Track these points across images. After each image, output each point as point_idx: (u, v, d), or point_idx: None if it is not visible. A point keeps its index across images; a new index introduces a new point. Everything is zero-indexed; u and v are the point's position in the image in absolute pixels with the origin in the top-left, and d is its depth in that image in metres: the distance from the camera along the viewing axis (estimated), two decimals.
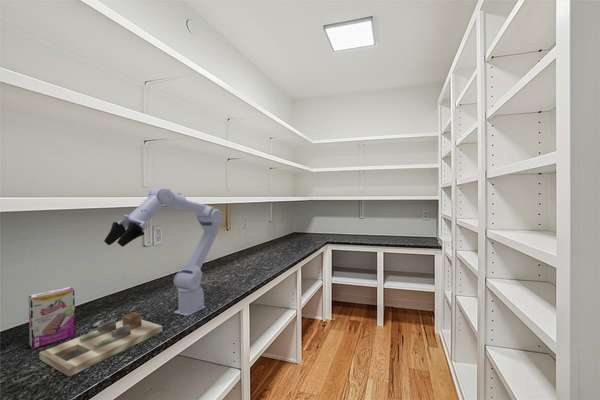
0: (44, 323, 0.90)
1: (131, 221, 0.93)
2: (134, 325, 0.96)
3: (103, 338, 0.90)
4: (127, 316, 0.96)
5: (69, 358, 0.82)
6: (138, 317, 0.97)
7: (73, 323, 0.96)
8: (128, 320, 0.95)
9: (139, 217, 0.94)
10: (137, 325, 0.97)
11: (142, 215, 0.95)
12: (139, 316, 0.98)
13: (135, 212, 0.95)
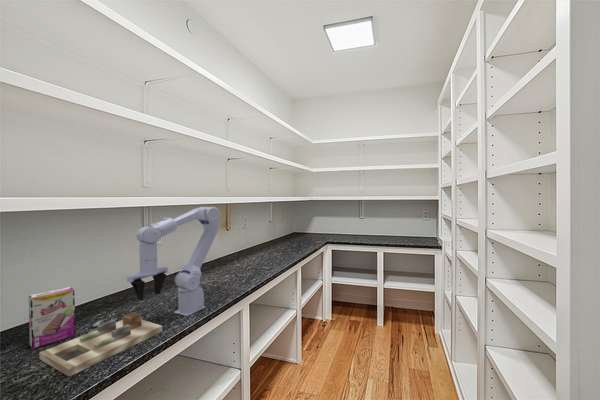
0: (44, 323, 0.90)
1: None
2: (134, 325, 0.96)
3: (103, 338, 0.90)
4: (127, 316, 0.96)
5: (69, 358, 0.82)
6: (138, 317, 0.97)
7: (73, 323, 0.96)
8: (128, 320, 0.95)
9: None
10: (137, 325, 0.97)
11: (140, 265, 1.01)
12: (139, 316, 0.98)
13: None
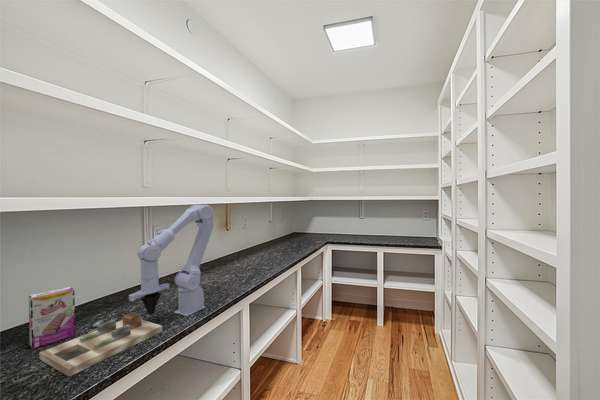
0: (44, 323, 0.90)
1: None
2: (134, 325, 0.96)
3: (103, 338, 0.90)
4: (127, 316, 0.96)
5: (69, 358, 0.82)
6: (138, 317, 0.97)
7: (73, 323, 0.96)
8: (128, 320, 0.95)
9: (141, 287, 1.02)
10: (137, 325, 0.97)
11: (141, 283, 1.01)
12: (139, 316, 0.98)
13: None
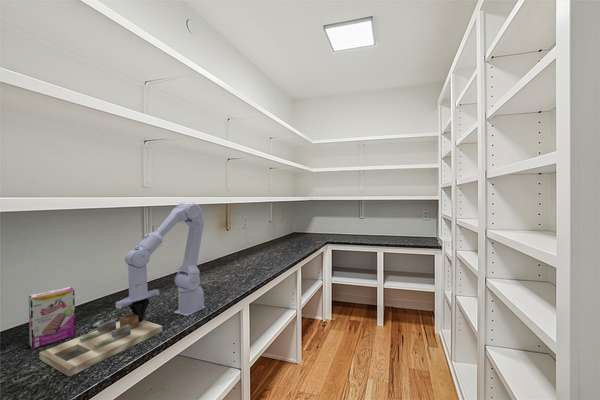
0: (44, 323, 0.90)
1: None
2: (131, 326, 0.95)
3: (103, 338, 0.90)
4: (124, 317, 0.96)
5: (69, 358, 0.82)
6: (136, 318, 0.96)
7: (73, 323, 0.96)
8: (125, 321, 0.94)
9: (129, 293, 0.98)
10: (134, 327, 0.96)
11: (129, 290, 0.98)
12: (136, 317, 0.97)
13: None
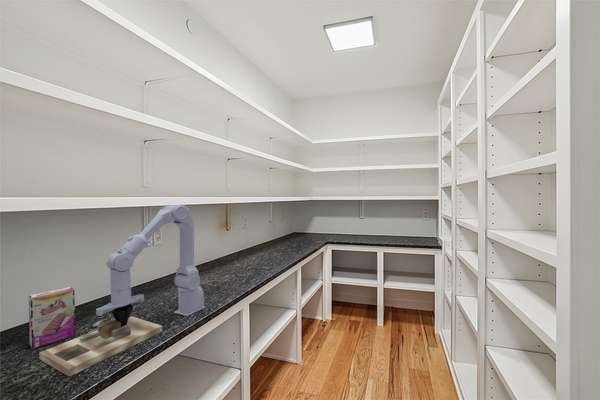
0: (44, 323, 0.90)
1: None
2: None
3: (103, 338, 0.90)
4: (105, 324, 0.90)
5: (69, 358, 0.82)
6: (118, 326, 0.91)
7: (73, 323, 0.96)
8: (106, 329, 0.89)
9: (111, 299, 0.93)
10: None
11: (111, 295, 0.92)
12: (118, 324, 0.92)
13: None
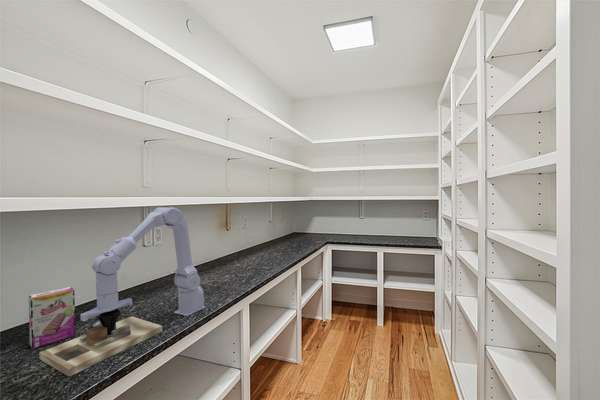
0: (44, 323, 0.90)
1: None
2: (98, 340, 0.86)
3: None
4: (91, 330, 0.87)
5: (69, 358, 0.82)
6: (104, 331, 0.88)
7: (73, 323, 0.96)
8: (92, 335, 0.85)
9: None
10: (102, 340, 0.87)
11: (97, 300, 0.89)
12: (104, 330, 0.88)
13: None
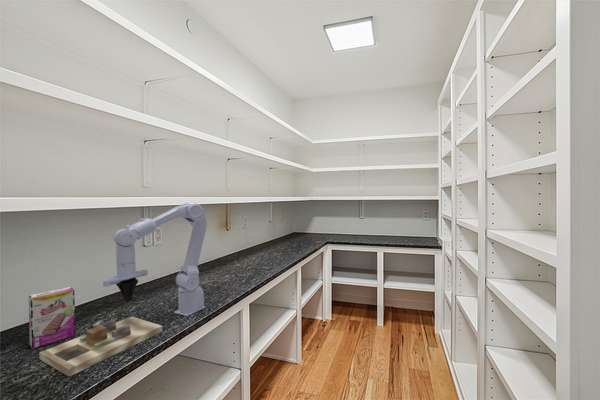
0: (44, 323, 0.90)
1: None
2: (98, 340, 0.86)
3: None
4: (91, 330, 0.87)
5: (69, 358, 0.82)
6: (104, 331, 0.88)
7: (73, 323, 0.96)
8: (92, 335, 0.85)
9: (117, 272, 0.98)
10: (102, 340, 0.87)
11: (117, 269, 0.98)
12: (104, 330, 0.88)
13: None
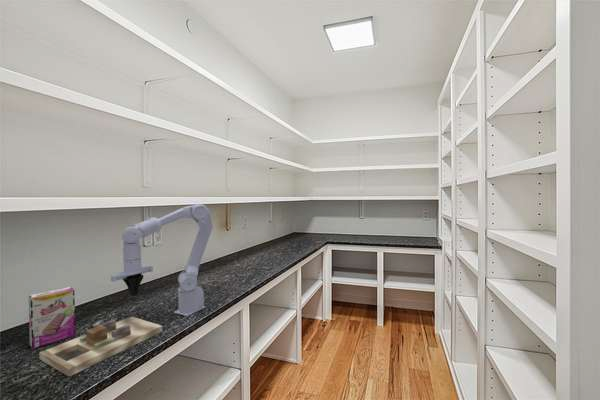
0: (44, 323, 0.90)
1: None
2: (98, 340, 0.86)
3: None
4: (91, 330, 0.87)
5: (69, 358, 0.82)
6: (104, 331, 0.88)
7: (73, 323, 0.96)
8: (92, 335, 0.85)
9: None
10: (102, 340, 0.87)
11: None
12: (104, 330, 0.88)
13: None
